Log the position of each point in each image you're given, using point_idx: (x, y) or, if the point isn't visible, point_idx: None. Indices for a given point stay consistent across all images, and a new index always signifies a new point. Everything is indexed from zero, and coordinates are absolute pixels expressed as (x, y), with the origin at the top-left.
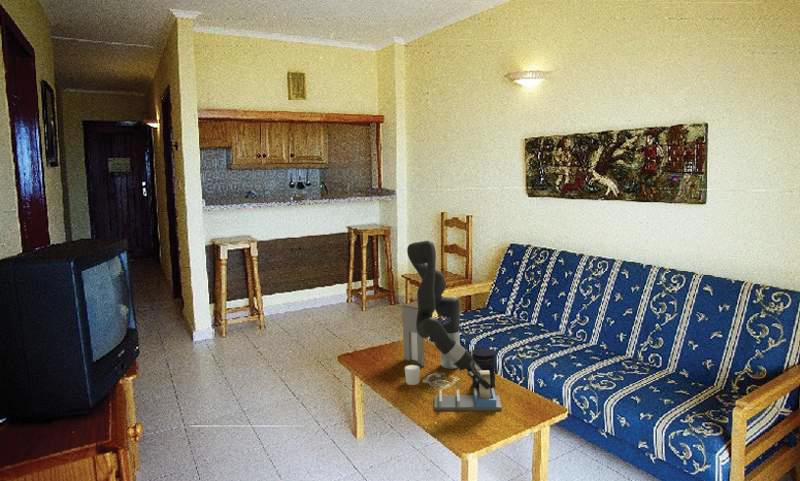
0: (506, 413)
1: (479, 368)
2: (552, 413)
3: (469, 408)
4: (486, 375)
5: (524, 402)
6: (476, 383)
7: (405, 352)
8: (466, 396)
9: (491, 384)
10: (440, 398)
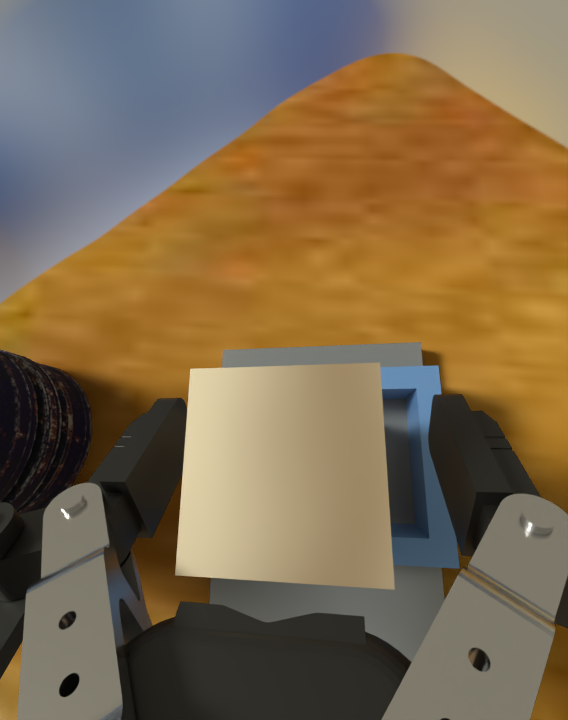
0: (462, 321)
1: (111, 560)
2: (432, 86)
3: (442, 603)
4: (382, 433)
5: (294, 213)
6: (32, 498)
7: None
8: (230, 607)
9: (62, 386)
10: None
